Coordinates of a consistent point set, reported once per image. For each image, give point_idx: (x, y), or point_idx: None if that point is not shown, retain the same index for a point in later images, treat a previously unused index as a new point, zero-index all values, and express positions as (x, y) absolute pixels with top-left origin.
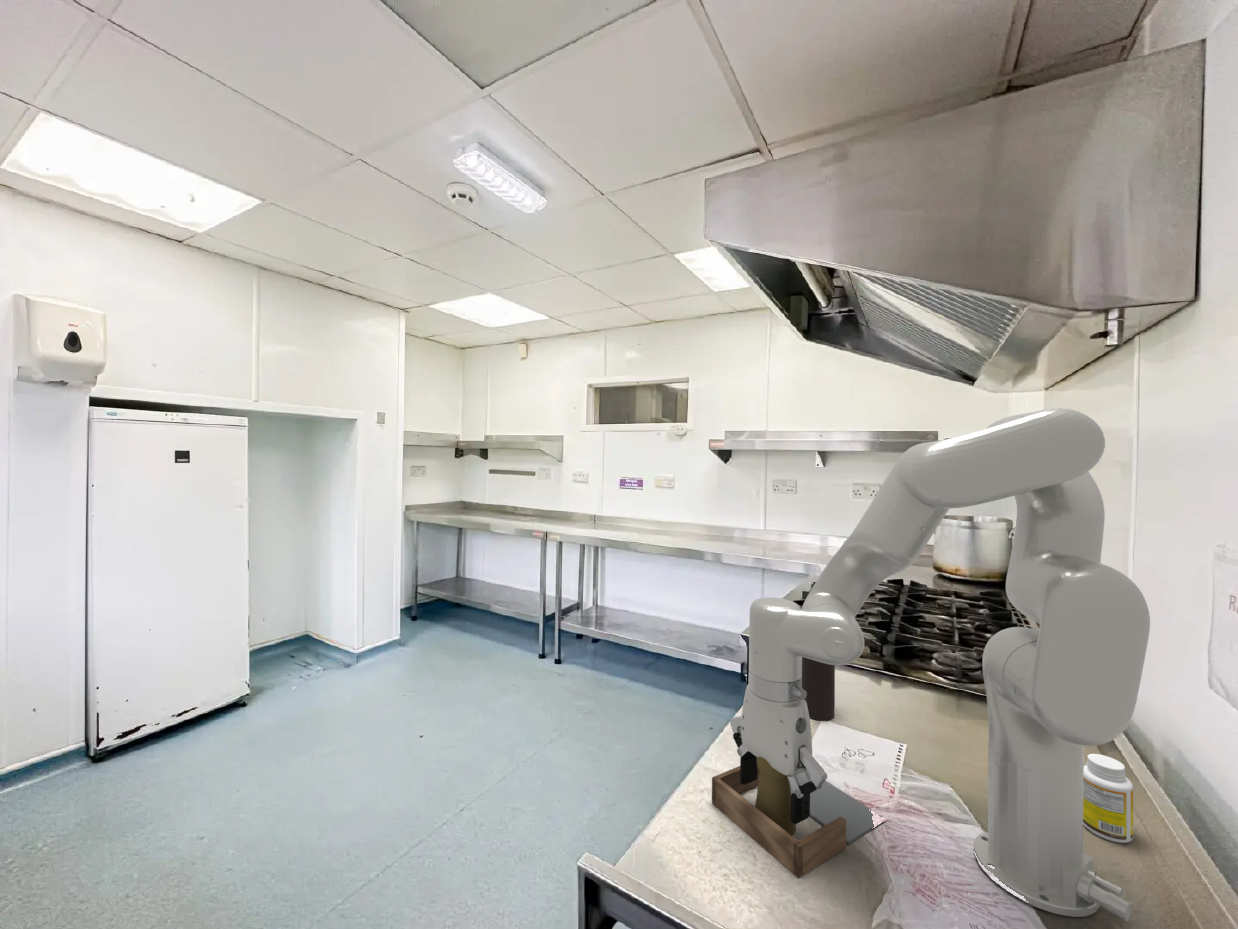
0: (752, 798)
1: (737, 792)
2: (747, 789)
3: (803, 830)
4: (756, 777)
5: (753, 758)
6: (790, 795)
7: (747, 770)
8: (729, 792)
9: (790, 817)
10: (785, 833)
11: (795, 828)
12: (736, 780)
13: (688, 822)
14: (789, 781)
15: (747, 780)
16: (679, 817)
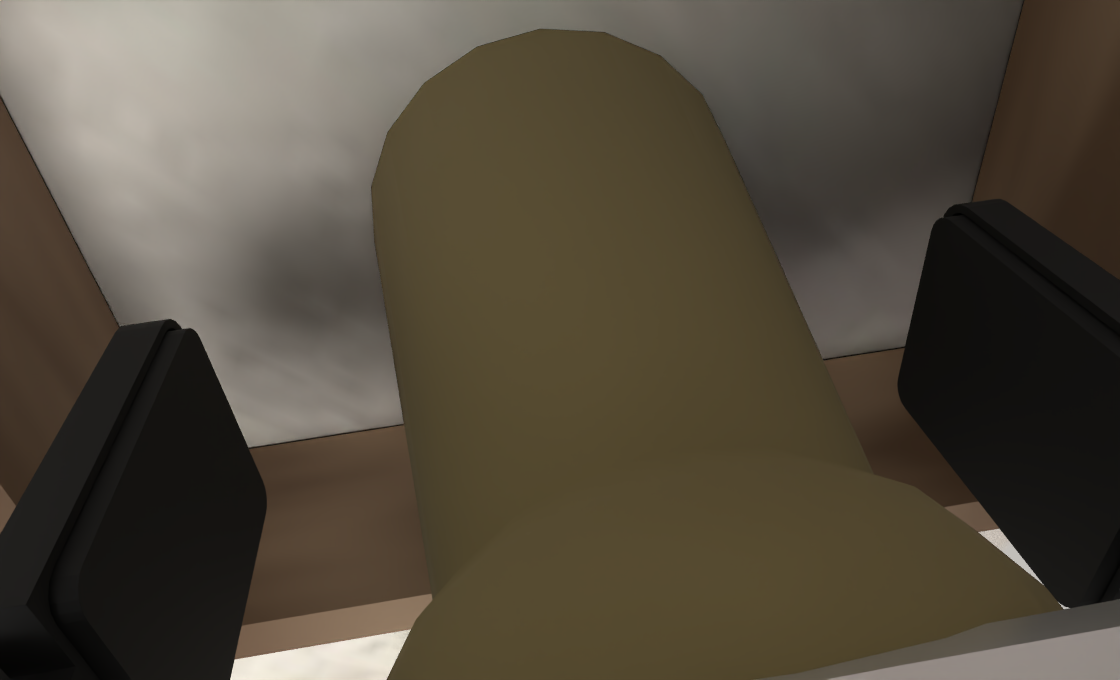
0: (161, 175)
1: (85, 305)
2: (24, 168)
3: (734, 18)
4: (192, 356)
5: (124, 643)
6: (808, 329)
7: (219, 592)
8: (344, 634)
9: (913, 418)
10: (961, 519)
11: (706, 105)
12: (40, 398)
13: (315, 646)
14: (854, 434)
15: (246, 486)
16: (258, 669)
